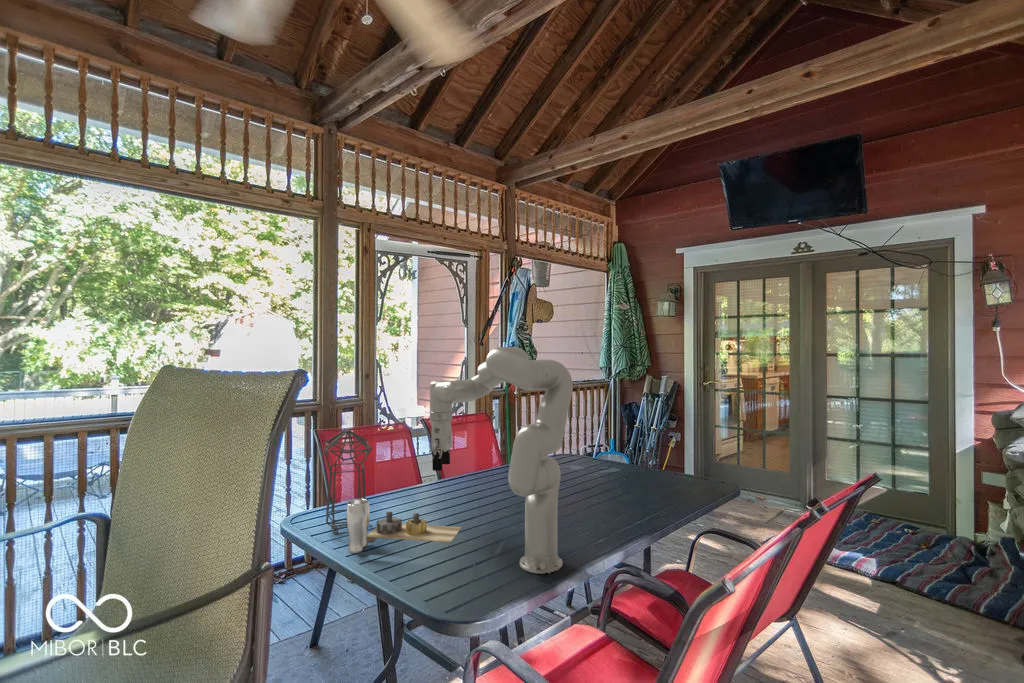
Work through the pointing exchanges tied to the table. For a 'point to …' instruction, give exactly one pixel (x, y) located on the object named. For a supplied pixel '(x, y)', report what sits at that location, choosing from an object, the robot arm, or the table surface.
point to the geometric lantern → (337, 438)
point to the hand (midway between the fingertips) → (441, 467)
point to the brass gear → (416, 527)
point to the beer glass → (357, 524)
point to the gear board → (397, 530)
